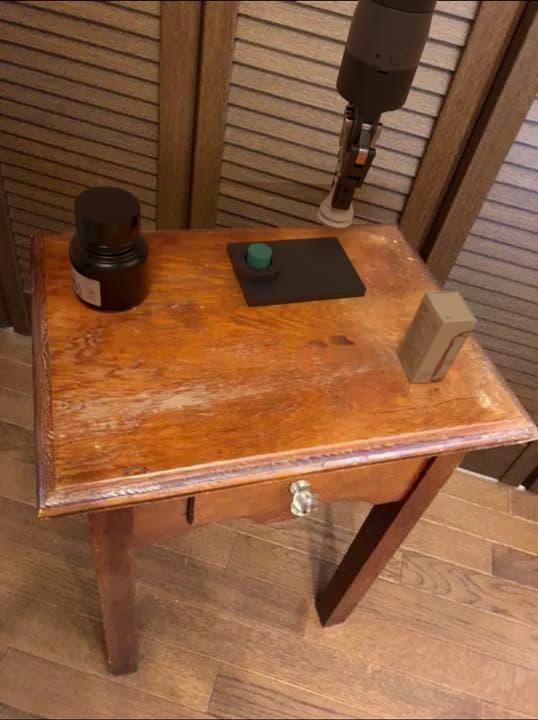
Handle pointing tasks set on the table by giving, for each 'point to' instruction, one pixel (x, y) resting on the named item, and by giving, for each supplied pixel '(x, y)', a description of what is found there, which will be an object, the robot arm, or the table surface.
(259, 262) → the button
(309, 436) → the table surface
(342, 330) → the table surface
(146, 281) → the ink bottle
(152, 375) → the table surface
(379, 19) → the robot arm
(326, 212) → the rook chess piece
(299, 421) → the table surface
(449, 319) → the beige upright block
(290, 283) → the black kitchen scale
